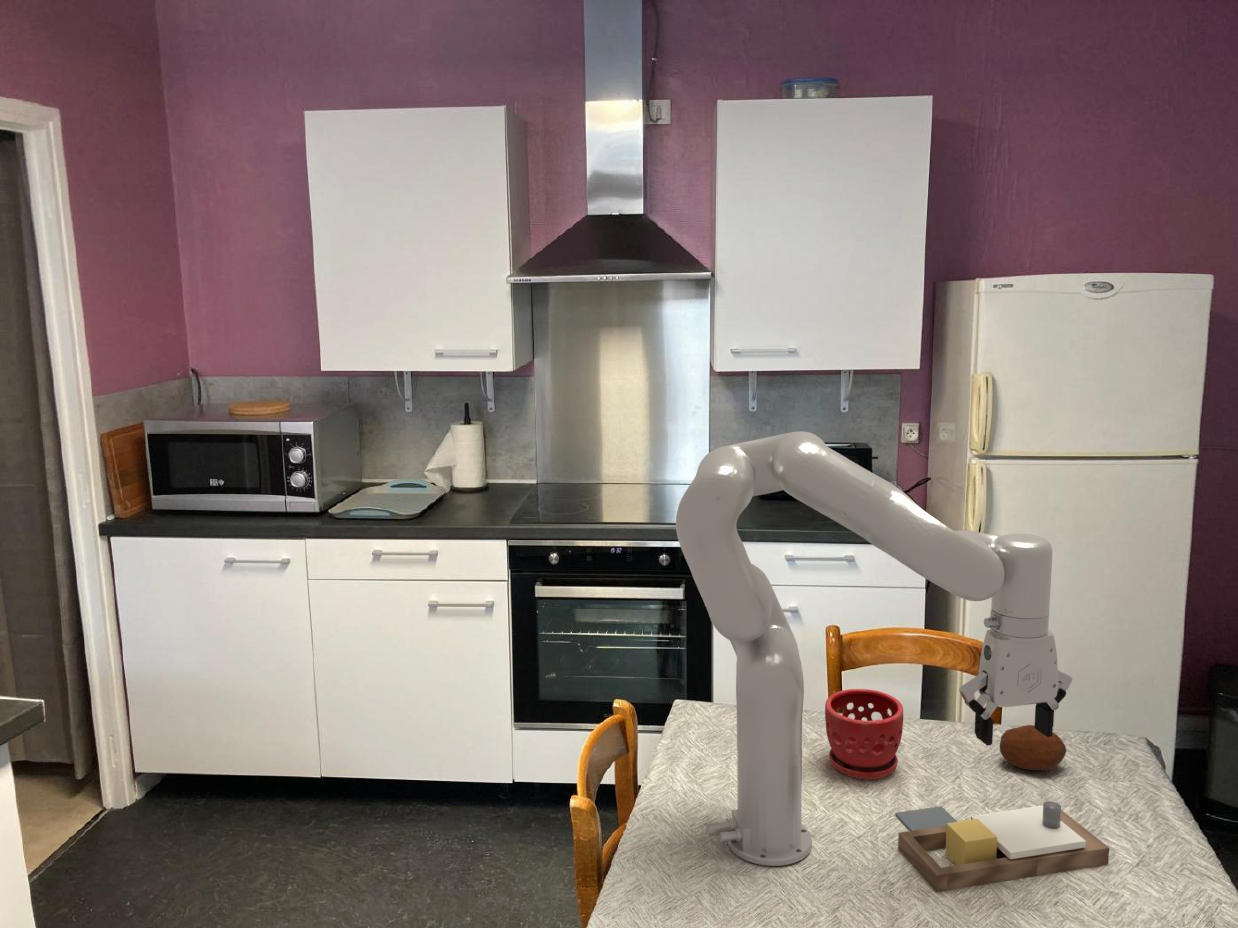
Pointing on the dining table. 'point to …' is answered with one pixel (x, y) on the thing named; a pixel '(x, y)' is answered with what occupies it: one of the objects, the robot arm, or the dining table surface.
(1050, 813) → the lid
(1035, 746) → the potato
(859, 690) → the plant pot
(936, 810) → the mat
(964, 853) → the block
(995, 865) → the brown box
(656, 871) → the dining table surface
